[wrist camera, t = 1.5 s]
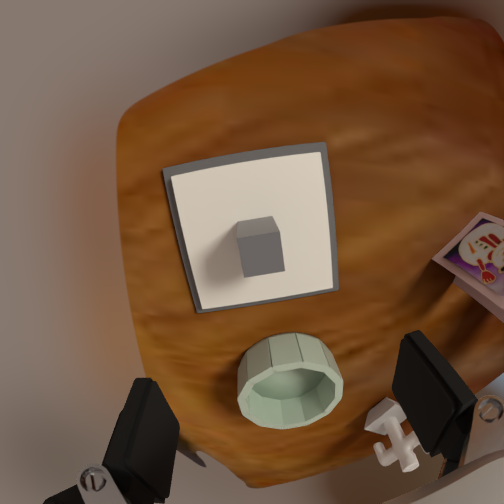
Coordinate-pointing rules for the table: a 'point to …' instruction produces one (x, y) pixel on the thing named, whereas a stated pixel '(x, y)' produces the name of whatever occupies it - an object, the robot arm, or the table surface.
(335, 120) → the table surface
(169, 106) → the table surface
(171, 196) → the mat
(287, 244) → the lid
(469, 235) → the greeting card
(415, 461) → the figurine
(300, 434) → the table surface
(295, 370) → the bowl
